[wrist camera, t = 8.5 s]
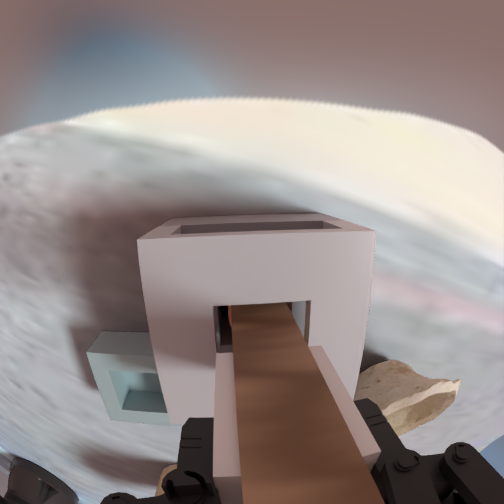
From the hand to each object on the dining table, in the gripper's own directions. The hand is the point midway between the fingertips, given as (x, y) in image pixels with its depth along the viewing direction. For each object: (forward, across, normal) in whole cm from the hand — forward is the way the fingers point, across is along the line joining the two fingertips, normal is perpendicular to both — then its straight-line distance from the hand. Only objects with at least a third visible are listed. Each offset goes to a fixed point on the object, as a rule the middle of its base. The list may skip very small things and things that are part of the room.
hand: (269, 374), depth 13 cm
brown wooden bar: (+7, 0, 0) cm, 7 cm away
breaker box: (+12, 0, 0) cm, 12 cm away
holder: (+12, -10, -8) cm, 18 cm away
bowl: (+12, +13, -13) cm, 22 cm away
